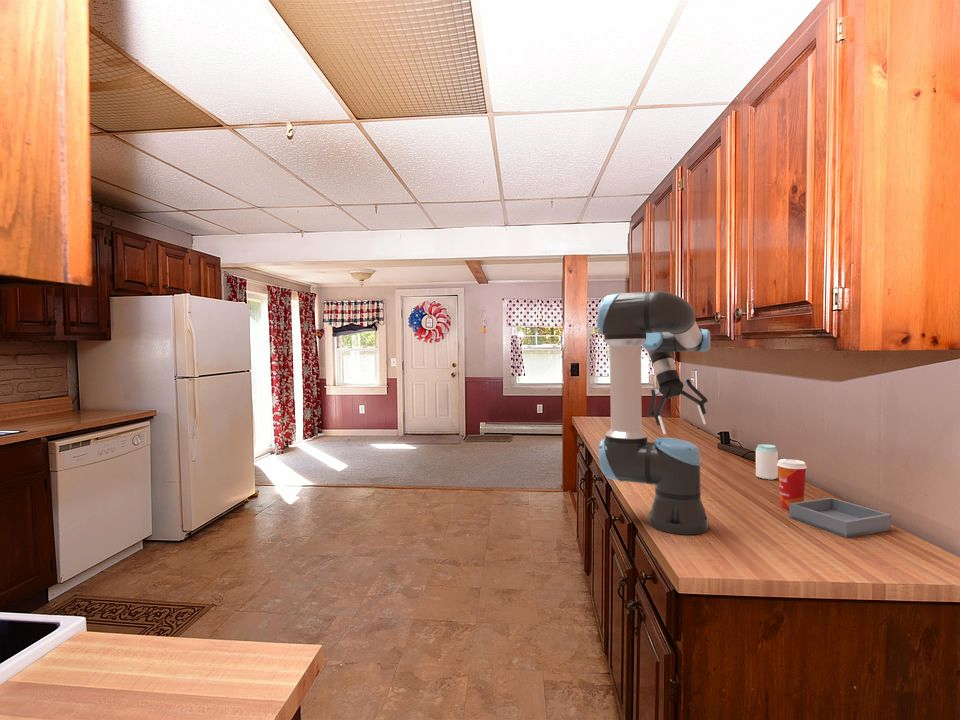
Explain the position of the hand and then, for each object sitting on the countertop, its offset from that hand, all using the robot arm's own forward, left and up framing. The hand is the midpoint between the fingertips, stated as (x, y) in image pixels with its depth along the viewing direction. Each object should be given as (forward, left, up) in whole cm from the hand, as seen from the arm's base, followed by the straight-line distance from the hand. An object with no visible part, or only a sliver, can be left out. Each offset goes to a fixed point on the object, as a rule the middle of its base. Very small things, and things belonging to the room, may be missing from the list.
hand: (684, 429), depth 171 cm
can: (+34, -2, -20) cm, 40 cm away
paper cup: (+13, -30, -20) cm, 39 cm away
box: (+13, -44, -20) cm, 50 cm away
